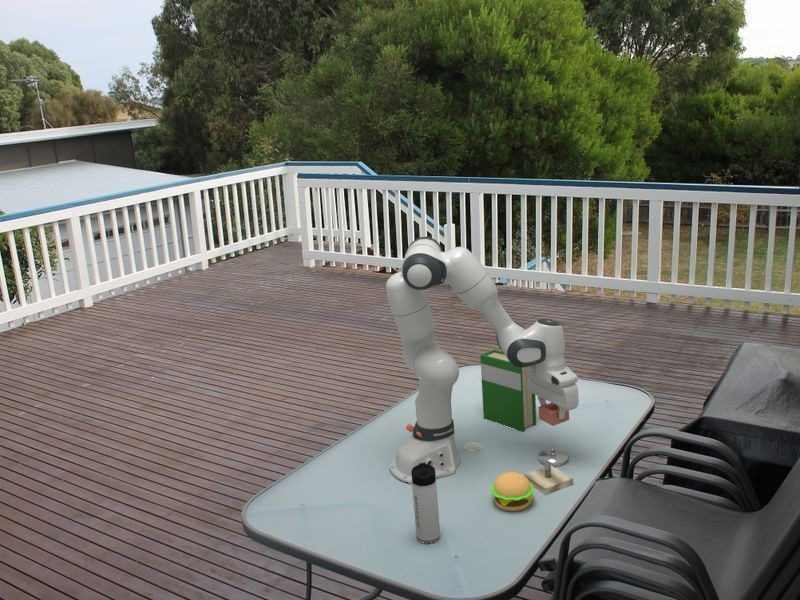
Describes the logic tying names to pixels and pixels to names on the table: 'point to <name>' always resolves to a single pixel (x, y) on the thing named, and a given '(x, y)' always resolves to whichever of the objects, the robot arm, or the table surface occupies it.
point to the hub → (553, 457)
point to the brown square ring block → (551, 414)
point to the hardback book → (506, 392)
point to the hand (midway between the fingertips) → (552, 413)
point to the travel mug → (425, 503)
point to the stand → (549, 479)
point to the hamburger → (512, 491)
